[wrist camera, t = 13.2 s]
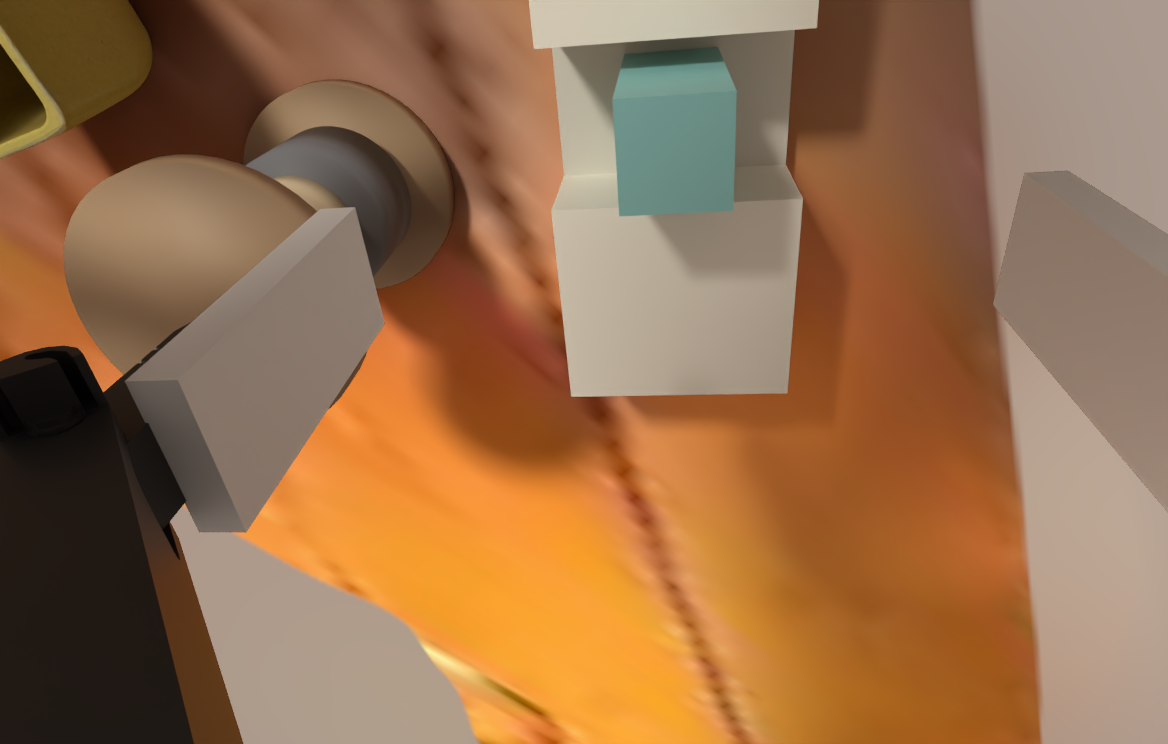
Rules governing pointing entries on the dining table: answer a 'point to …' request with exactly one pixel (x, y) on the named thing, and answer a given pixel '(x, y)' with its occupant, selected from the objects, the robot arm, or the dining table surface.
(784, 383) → the notched board
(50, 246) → the dining table surface
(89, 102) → the flower pot
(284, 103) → the door knob
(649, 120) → the block
